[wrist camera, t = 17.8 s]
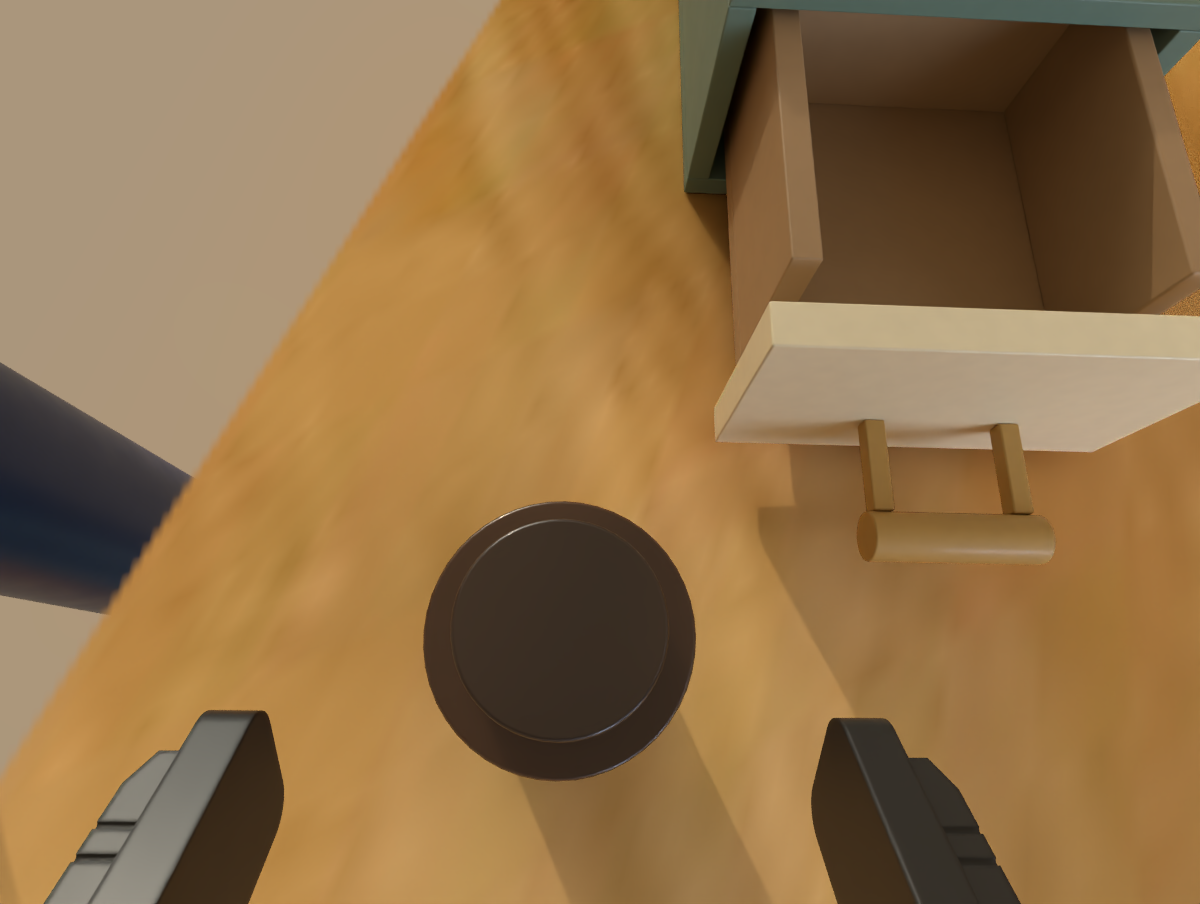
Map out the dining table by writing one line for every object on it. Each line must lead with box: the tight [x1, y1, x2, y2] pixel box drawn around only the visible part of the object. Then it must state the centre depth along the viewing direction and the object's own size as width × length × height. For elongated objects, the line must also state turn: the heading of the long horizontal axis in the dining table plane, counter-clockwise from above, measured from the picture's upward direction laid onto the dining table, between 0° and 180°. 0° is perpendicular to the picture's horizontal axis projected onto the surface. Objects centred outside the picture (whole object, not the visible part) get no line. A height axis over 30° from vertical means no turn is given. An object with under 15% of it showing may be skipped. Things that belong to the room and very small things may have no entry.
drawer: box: [714, 8, 1200, 565], centre depth 22 cm, size 18×12×7 cm
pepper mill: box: [423, 501, 696, 781], centre depth 17 cm, size 5×5×10 cm
